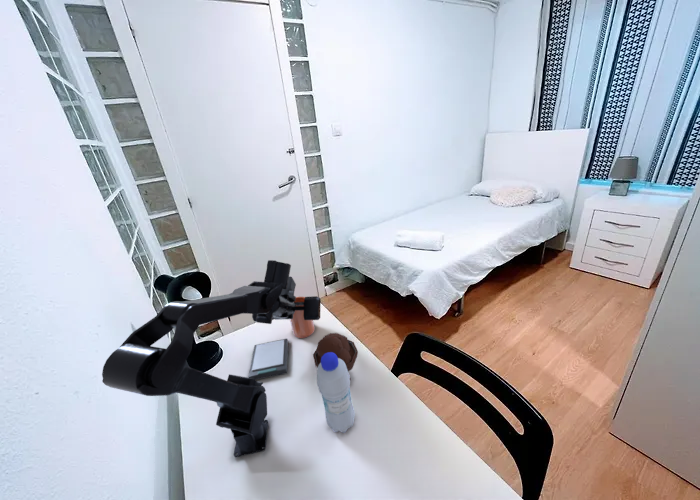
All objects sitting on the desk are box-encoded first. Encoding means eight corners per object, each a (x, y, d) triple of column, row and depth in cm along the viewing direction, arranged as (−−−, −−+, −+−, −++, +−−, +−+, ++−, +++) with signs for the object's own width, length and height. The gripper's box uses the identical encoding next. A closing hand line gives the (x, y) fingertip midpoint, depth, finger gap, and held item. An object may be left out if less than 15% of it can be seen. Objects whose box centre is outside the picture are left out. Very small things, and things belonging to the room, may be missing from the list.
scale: (286, 373, 76) (285, 367, 75) (249, 381, 75) (247, 375, 74) (288, 342, 87) (287, 337, 86) (255, 348, 86) (254, 344, 85)
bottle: (330, 441, 58) (314, 374, 50) (324, 413, 64) (309, 348, 56) (360, 431, 60) (350, 364, 51) (351, 403, 66) (341, 339, 57)
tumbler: (315, 335, 88) (309, 307, 83) (293, 340, 87) (285, 312, 83) (314, 321, 94) (308, 294, 90) (293, 325, 94) (286, 298, 89)
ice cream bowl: (361, 397, 67) (355, 351, 60) (316, 400, 68) (305, 354, 61) (361, 362, 76) (355, 319, 70) (321, 364, 77) (312, 322, 71)
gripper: (313, 272, 71) (326, 285, 86) (244, 276, 74) (269, 287, 88) (311, 317, 67) (326, 322, 82) (240, 319, 70) (266, 323, 85)
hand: (296, 312), depth 84 cm, fingers open, 9 cm apart
